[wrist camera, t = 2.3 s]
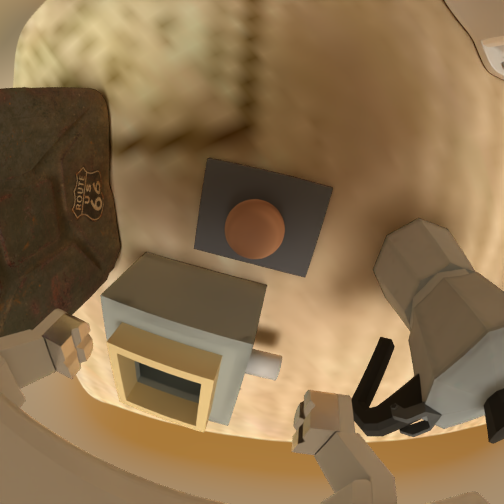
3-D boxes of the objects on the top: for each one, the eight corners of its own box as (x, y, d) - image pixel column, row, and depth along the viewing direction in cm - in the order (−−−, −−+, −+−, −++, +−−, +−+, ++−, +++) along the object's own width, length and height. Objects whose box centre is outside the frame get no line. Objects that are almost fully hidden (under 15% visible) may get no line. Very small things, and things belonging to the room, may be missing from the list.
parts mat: (332, 187, 22) (332, 188, 21) (305, 274, 25) (305, 277, 25) (209, 158, 22) (207, 158, 22) (195, 246, 26) (194, 248, 25)
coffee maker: (458, 190, 20) (612, 302, 3) (477, 269, 22) (574, 400, 6) (314, 268, 25) (318, 474, 8) (352, 335, 27) (371, 507, 11)
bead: (292, 200, 22) (290, 217, 18) (278, 251, 24) (274, 276, 20) (237, 187, 22) (223, 201, 18) (227, 237, 24) (213, 260, 20)
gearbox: (298, 293, 26) (294, 381, 16) (267, 375, 31) (254, 453, 22) (146, 252, 27) (82, 313, 17) (146, 339, 32) (105, 403, 22)
